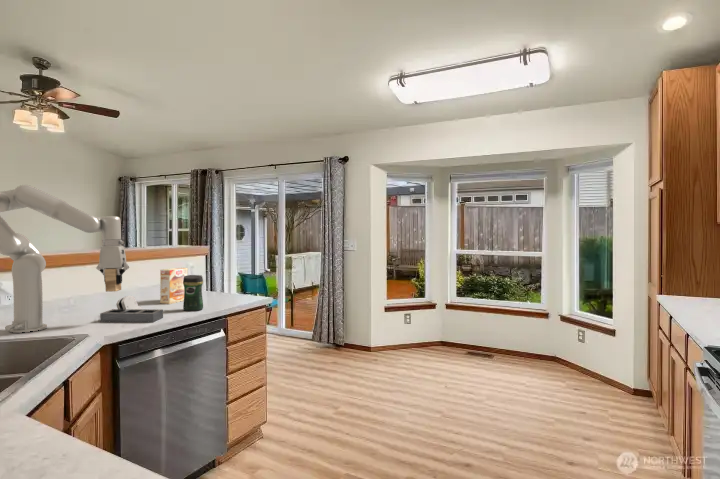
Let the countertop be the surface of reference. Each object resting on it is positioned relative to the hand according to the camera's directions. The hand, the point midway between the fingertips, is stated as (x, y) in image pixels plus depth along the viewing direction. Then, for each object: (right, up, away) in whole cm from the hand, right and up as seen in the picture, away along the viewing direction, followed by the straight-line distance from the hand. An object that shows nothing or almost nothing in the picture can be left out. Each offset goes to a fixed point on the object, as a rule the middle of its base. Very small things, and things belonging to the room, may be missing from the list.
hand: (113, 283), depth 190 cm
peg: (0, -3, 0) cm, 3 cm away
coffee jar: (+23, -18, +32) cm, 44 cm away
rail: (+5, -18, +7) cm, 20 cm away
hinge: (-4, -18, +21) cm, 28 cm away
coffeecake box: (+3, -17, +56) cm, 58 cm away
